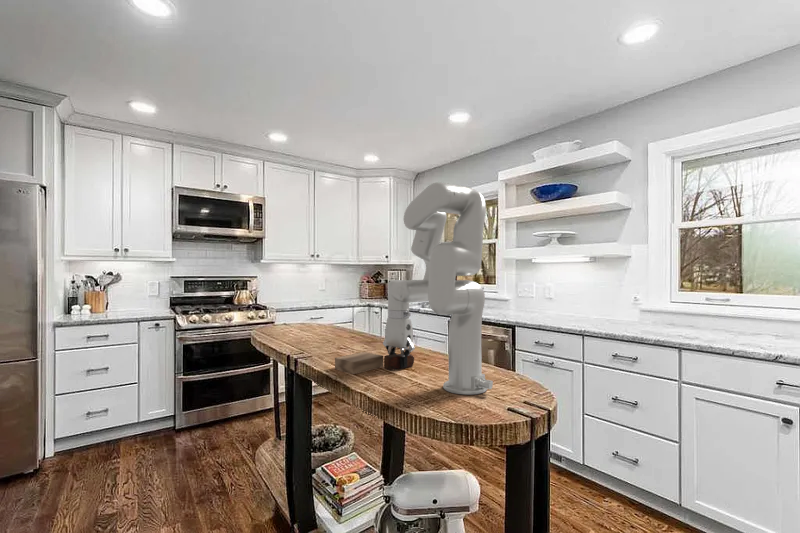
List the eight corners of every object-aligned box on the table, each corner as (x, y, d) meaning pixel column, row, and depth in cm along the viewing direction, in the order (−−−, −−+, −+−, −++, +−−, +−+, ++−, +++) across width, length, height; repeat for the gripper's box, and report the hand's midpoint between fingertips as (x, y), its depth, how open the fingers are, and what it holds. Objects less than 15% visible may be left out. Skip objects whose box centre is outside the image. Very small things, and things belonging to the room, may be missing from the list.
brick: (390, 371, 139) (390, 357, 139) (383, 368, 142) (383, 355, 142) (414, 366, 145) (414, 353, 145) (407, 364, 148) (407, 351, 148)
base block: (383, 366, 145) (383, 355, 145) (353, 374, 135) (353, 362, 135) (364, 362, 152) (364, 351, 152) (334, 369, 142) (334, 357, 142)
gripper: (423, 316, 140) (423, 368, 140) (388, 312, 152) (388, 360, 152) (409, 318, 135) (408, 372, 135) (374, 313, 146) (374, 364, 146)
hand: (398, 365), depth 143 cm, fingers closed on brick, 4 cm apart
